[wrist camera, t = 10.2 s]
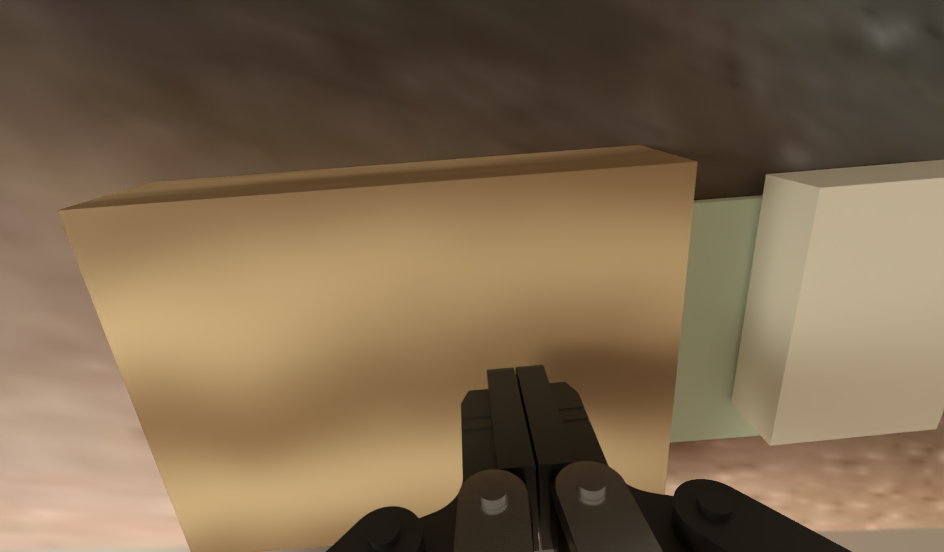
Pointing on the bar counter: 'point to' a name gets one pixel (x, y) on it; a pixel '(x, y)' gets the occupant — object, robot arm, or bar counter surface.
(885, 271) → the beige rectangular block
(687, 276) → the mat
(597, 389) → the serving board
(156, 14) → the bar counter surface
